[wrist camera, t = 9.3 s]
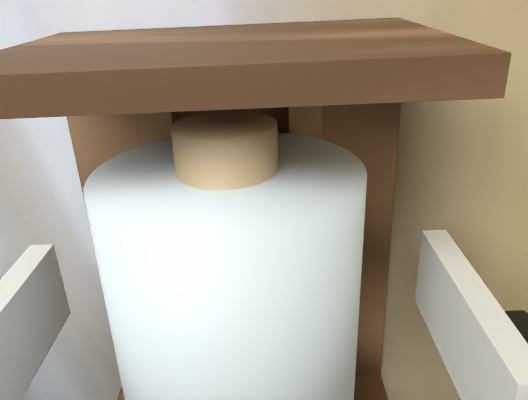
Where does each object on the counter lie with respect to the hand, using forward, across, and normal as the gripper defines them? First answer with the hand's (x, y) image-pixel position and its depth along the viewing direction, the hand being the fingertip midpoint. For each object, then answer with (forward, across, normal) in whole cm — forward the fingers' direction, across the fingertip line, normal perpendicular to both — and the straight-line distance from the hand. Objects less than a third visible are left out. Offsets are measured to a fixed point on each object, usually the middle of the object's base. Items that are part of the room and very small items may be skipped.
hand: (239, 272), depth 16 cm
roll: (+1, +1, 0) cm, 2 cm away
